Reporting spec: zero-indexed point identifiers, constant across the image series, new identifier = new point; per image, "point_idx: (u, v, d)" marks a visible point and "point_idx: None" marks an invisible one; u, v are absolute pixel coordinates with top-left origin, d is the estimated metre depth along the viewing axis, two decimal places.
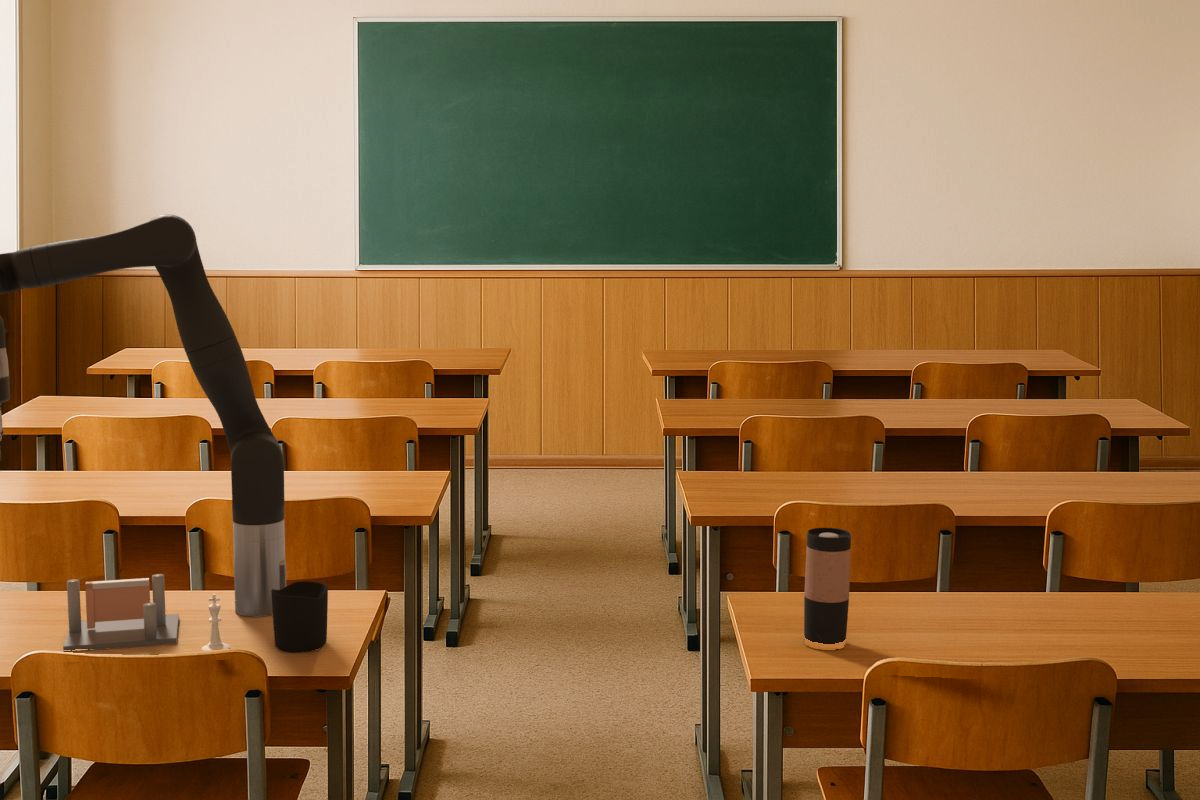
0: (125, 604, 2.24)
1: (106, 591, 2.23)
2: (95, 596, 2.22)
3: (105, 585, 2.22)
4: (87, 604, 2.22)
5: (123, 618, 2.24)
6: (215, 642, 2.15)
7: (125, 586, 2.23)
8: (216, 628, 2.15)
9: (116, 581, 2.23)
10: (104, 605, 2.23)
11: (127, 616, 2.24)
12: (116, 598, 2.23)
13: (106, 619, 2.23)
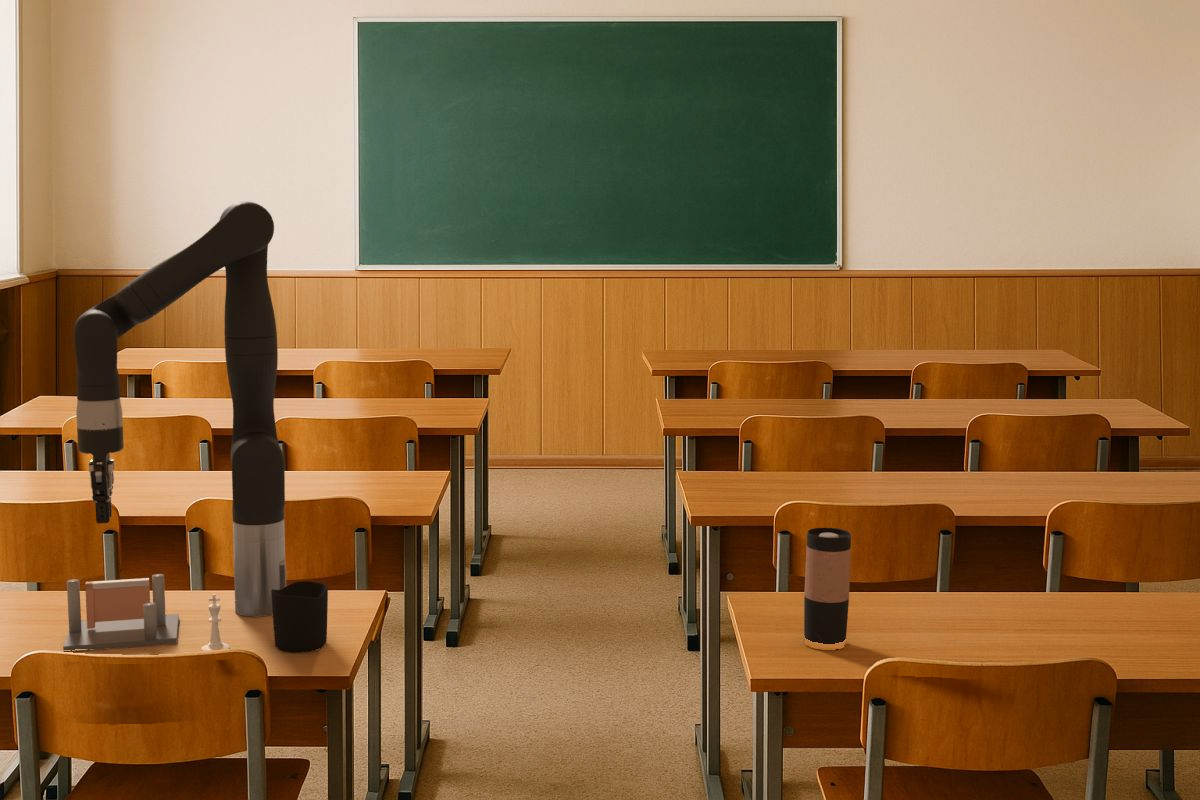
0: (125, 604, 2.24)
1: (106, 591, 2.23)
2: (95, 596, 2.22)
3: (105, 585, 2.22)
4: (87, 604, 2.22)
5: (123, 618, 2.24)
6: (215, 642, 2.15)
7: (125, 586, 2.23)
8: (216, 628, 2.15)
9: (116, 581, 2.23)
10: (104, 605, 2.23)
11: (127, 616, 2.24)
12: (116, 598, 2.23)
13: (106, 619, 2.23)
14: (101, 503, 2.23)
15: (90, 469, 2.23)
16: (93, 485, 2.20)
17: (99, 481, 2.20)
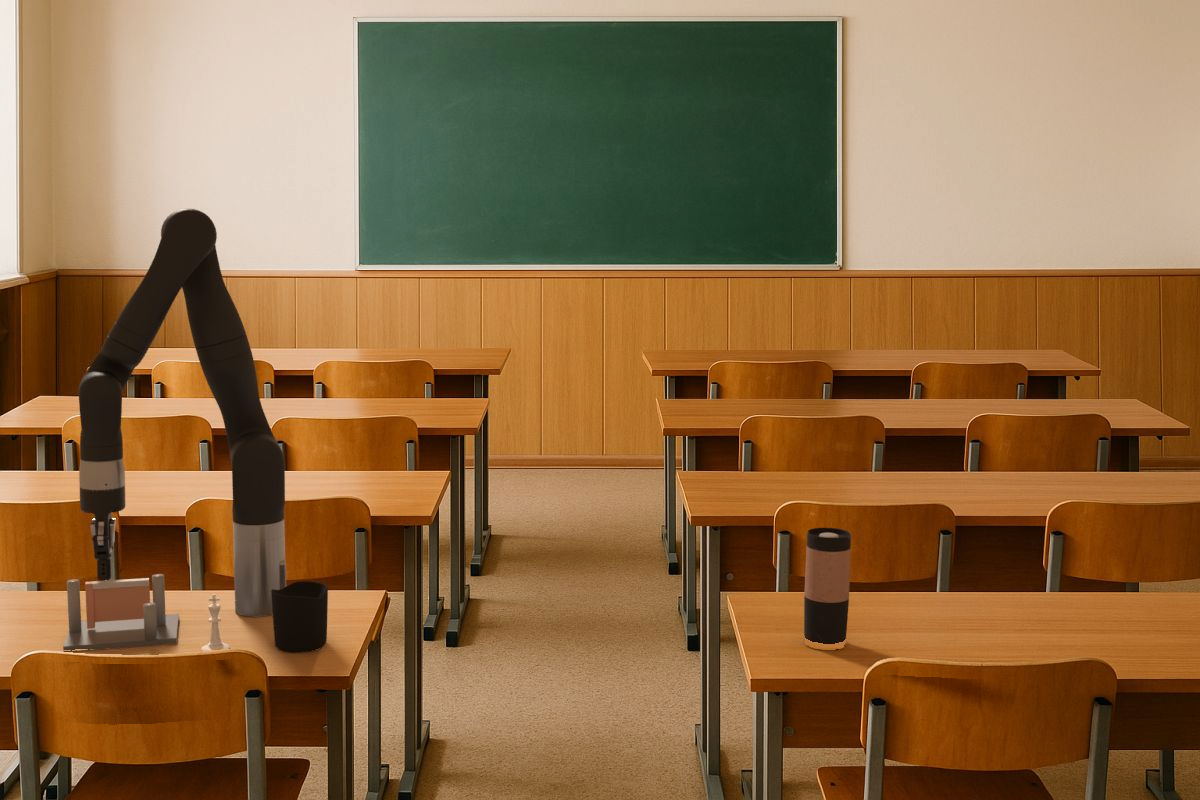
0: (125, 604, 2.24)
1: (106, 591, 2.23)
2: (95, 596, 2.22)
3: (105, 585, 2.22)
4: (87, 604, 2.22)
5: (123, 618, 2.24)
6: (215, 642, 2.15)
7: (125, 586, 2.23)
8: (216, 628, 2.15)
9: (116, 581, 2.23)
10: (104, 605, 2.23)
11: (127, 616, 2.24)
12: (116, 598, 2.23)
13: (106, 619, 2.23)
14: (103, 560, 2.27)
15: (92, 529, 2.25)
16: (95, 548, 2.23)
17: (101, 544, 2.22)
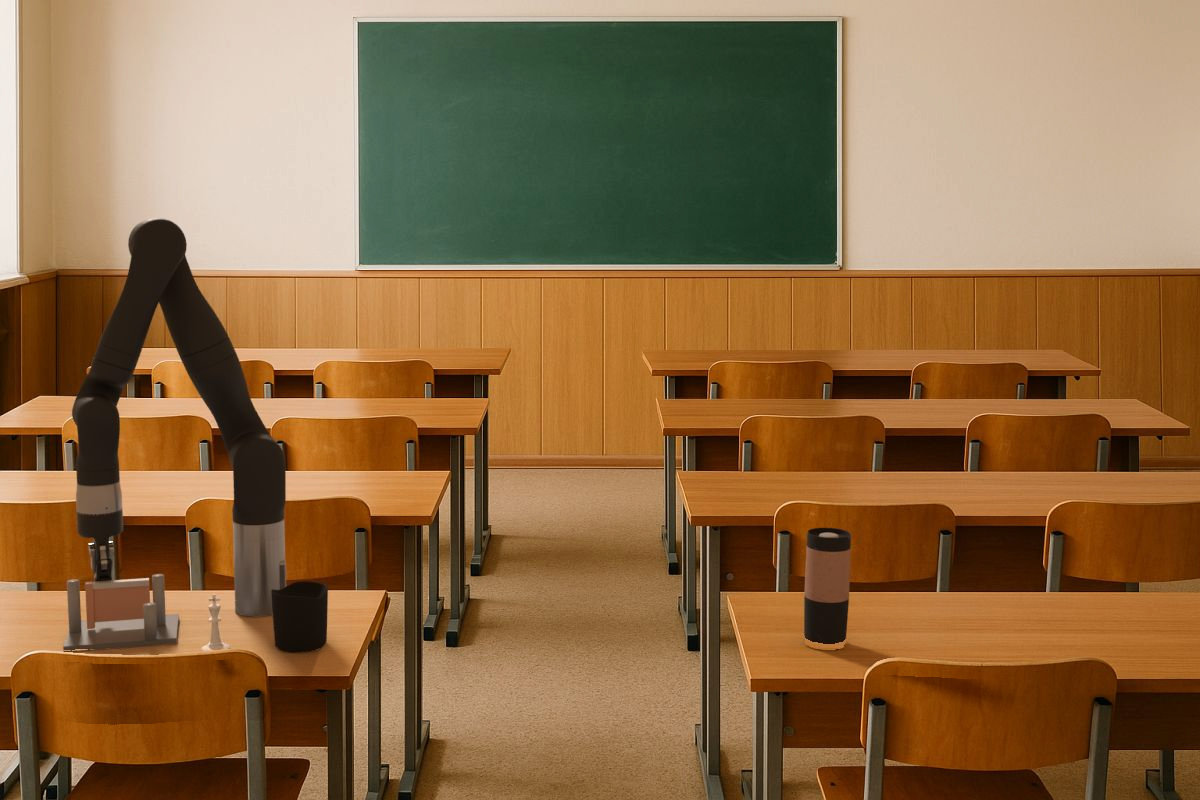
0: (125, 604, 2.24)
1: (106, 591, 2.23)
2: (95, 596, 2.22)
3: (106, 585, 2.22)
4: (87, 604, 2.22)
5: (123, 618, 2.24)
6: (215, 642, 2.15)
7: (125, 586, 2.23)
8: (216, 628, 2.15)
9: (116, 581, 2.23)
10: (104, 605, 2.23)
11: (127, 616, 2.24)
12: (116, 598, 2.23)
13: (106, 619, 2.23)
14: None
15: (91, 554, 2.23)
16: (98, 572, 2.21)
17: (104, 569, 2.21)
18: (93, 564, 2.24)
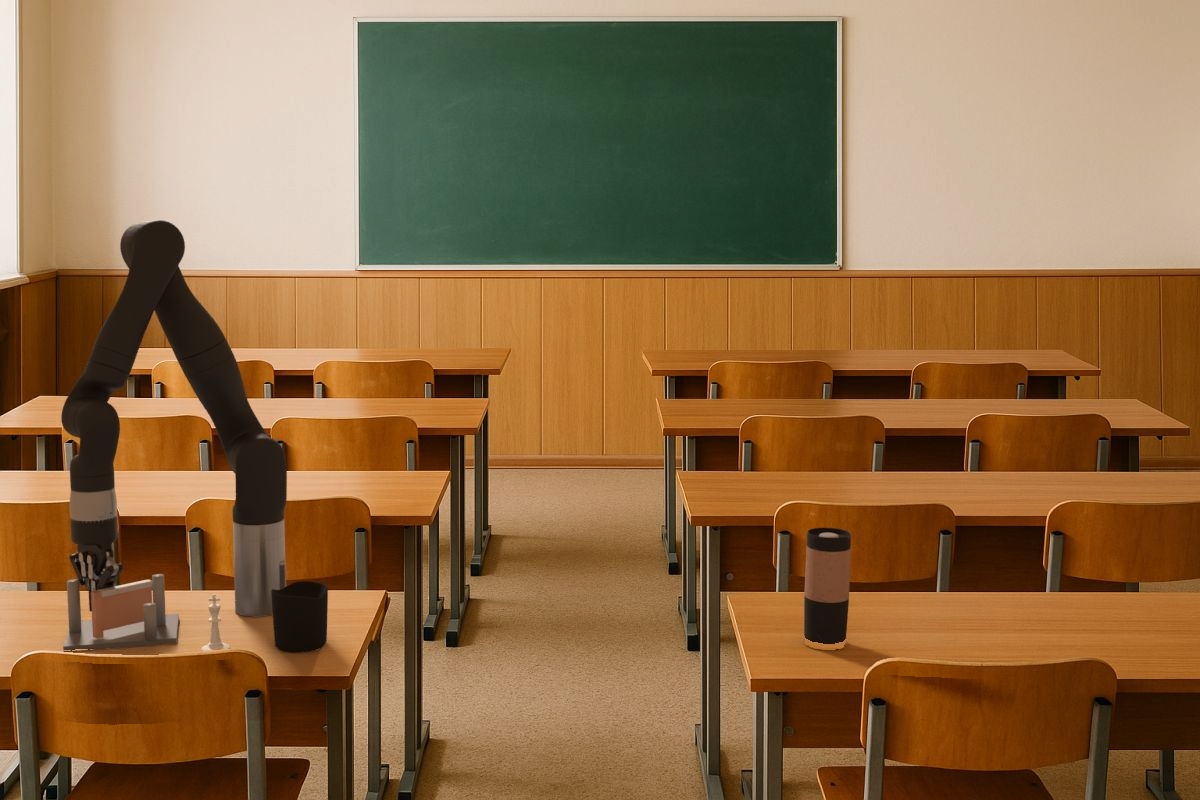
0: (130, 609, 2.21)
1: (112, 597, 2.19)
2: (103, 604, 2.18)
3: (113, 591, 2.19)
4: (96, 614, 2.17)
5: (128, 623, 2.22)
6: (215, 642, 2.15)
7: (131, 590, 2.21)
8: (216, 628, 2.15)
9: (121, 586, 2.20)
10: (111, 612, 2.19)
11: (132, 620, 2.22)
12: (122, 603, 2.20)
13: (113, 626, 2.19)
14: None
15: (92, 562, 2.18)
16: (107, 579, 2.17)
17: (114, 574, 2.18)
18: (93, 572, 2.19)
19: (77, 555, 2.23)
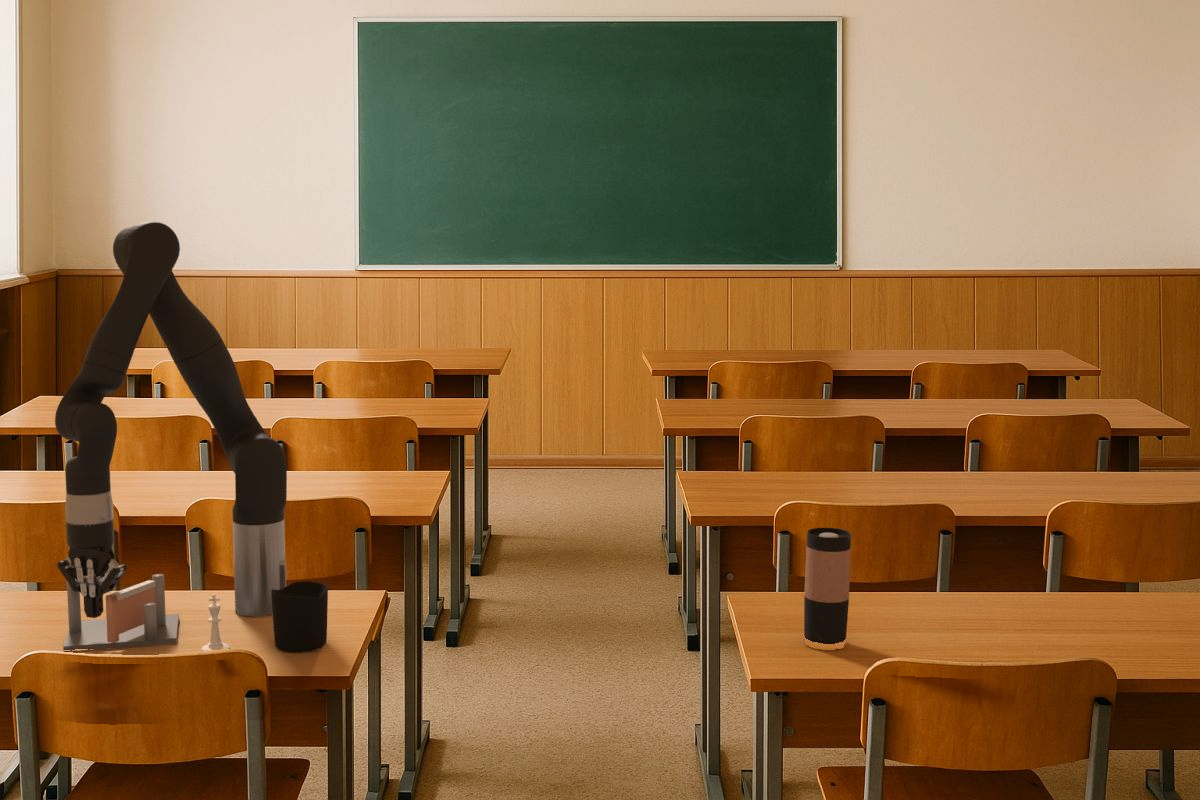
0: (138, 610, 2.21)
1: (125, 600, 2.17)
2: (117, 608, 2.16)
3: (126, 593, 2.17)
4: (113, 617, 2.15)
5: (137, 625, 2.21)
6: (215, 642, 2.15)
7: (139, 591, 2.20)
8: (216, 628, 2.15)
9: (131, 588, 2.19)
10: (124, 615, 2.17)
11: (140, 622, 2.21)
12: (132, 606, 2.19)
13: (125, 629, 2.18)
14: (100, 596, 2.18)
15: (93, 565, 2.16)
16: (112, 581, 2.16)
17: (118, 576, 2.17)
18: (94, 576, 2.16)
19: (66, 562, 2.19)
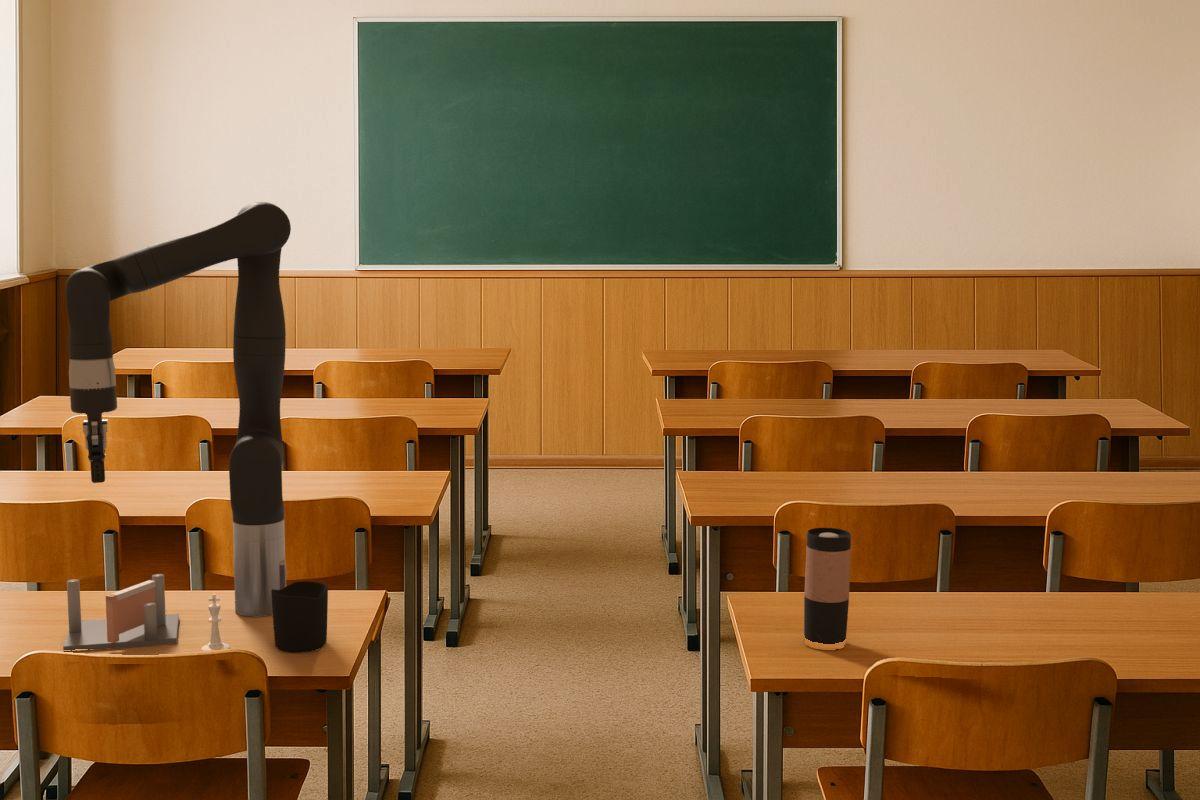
0: (138, 610, 2.21)
1: (125, 600, 2.17)
2: (117, 608, 2.16)
3: (126, 593, 2.17)
4: (113, 617, 2.15)
5: (137, 625, 2.21)
6: (215, 642, 2.15)
7: (139, 591, 2.20)
8: (216, 628, 2.15)
9: (131, 588, 2.19)
10: (124, 615, 2.17)
11: (140, 622, 2.21)
12: (132, 606, 2.19)
13: (125, 629, 2.18)
14: (96, 462, 2.23)
15: (84, 430, 2.21)
16: (89, 447, 2.19)
17: (95, 444, 2.19)
18: (86, 441, 2.22)
19: None
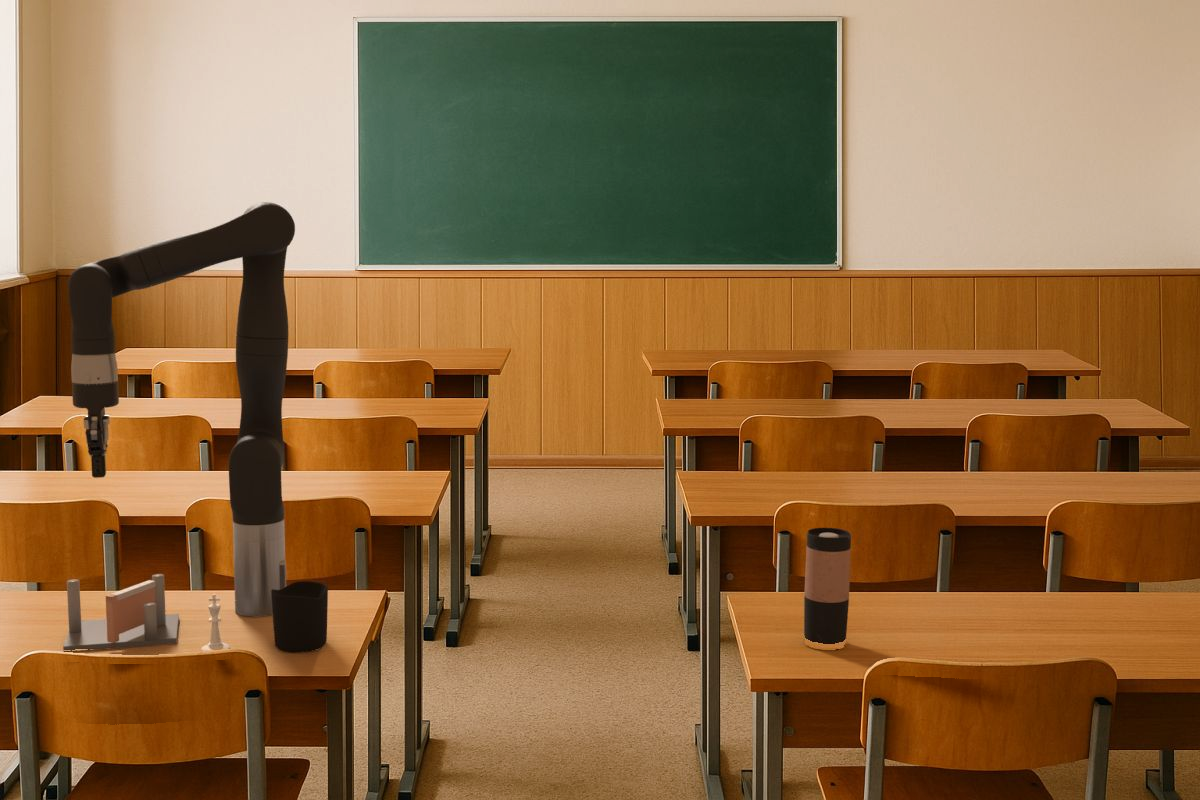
0: (138, 610, 2.21)
1: (125, 600, 2.17)
2: (117, 608, 2.16)
3: (126, 593, 2.17)
4: (113, 617, 2.15)
5: (137, 625, 2.21)
6: (215, 642, 2.15)
7: (139, 591, 2.20)
8: (216, 628, 2.15)
9: (131, 588, 2.19)
10: (124, 615, 2.17)
11: (140, 622, 2.21)
12: (132, 606, 2.19)
13: (125, 629, 2.18)
14: (97, 457, 2.24)
15: (85, 425, 2.22)
16: (89, 442, 2.20)
17: (95, 439, 2.20)
18: (87, 435, 2.23)
19: None
